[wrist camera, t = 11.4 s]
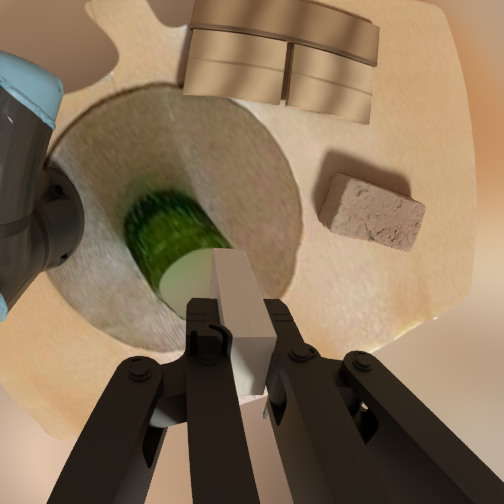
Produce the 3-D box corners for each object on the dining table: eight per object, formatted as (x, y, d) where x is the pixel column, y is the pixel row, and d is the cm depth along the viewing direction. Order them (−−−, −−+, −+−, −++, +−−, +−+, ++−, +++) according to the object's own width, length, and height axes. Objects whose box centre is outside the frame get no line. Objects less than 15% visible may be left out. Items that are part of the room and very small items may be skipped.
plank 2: (285, 106, 35) (287, 105, 34) (292, 46, 32) (294, 43, 31) (364, 124, 38) (369, 124, 37) (369, 68, 35) (373, 67, 34)
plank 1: (183, 94, 33) (182, 92, 31) (193, 32, 30) (193, 29, 29) (277, 105, 35) (280, 103, 34) (284, 44, 32) (287, 41, 31)
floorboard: (190, 29, 30) (190, 26, 28) (199, -12, 27) (199, -16, 26) (371, 67, 35) (376, 66, 34) (374, 29, 32) (380, 27, 31)
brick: (315, 223, 44) (328, 234, 40) (332, 169, 41) (347, 175, 37) (396, 243, 48) (411, 254, 44) (412, 198, 45) (429, 206, 41)
